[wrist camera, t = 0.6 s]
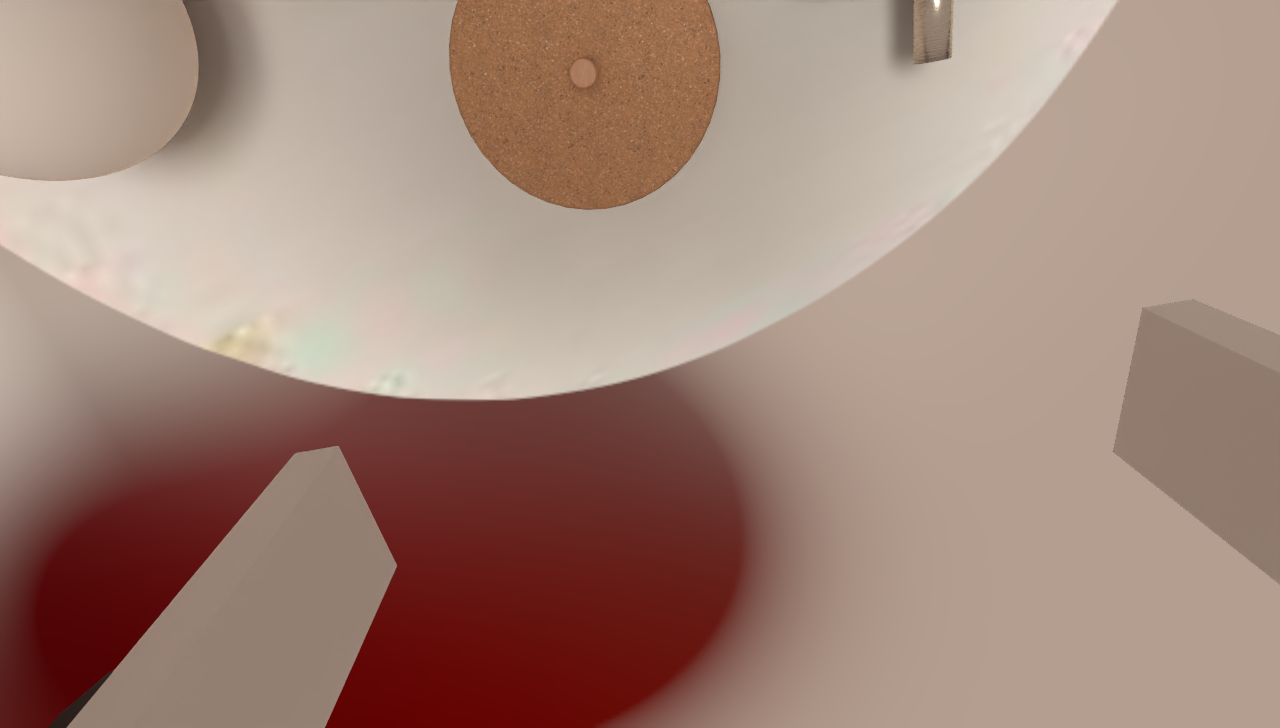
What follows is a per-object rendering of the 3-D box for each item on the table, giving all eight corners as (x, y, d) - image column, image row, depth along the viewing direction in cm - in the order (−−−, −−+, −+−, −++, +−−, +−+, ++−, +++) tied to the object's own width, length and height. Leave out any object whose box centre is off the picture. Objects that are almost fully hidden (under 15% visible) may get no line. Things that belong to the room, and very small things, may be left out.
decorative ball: (4, -185, 26) (-432, -366, 15) (283, -16, 29) (81, -68, 18) (-28, 79, 30) (-387, 82, 20) (217, 203, 33) (23, 266, 22)
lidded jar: (707, -49, 29) (742, -98, 20) (691, 184, 33) (714, 222, 25) (479, -58, 28) (418, -114, 20) (495, 178, 33) (451, 215, 25)
